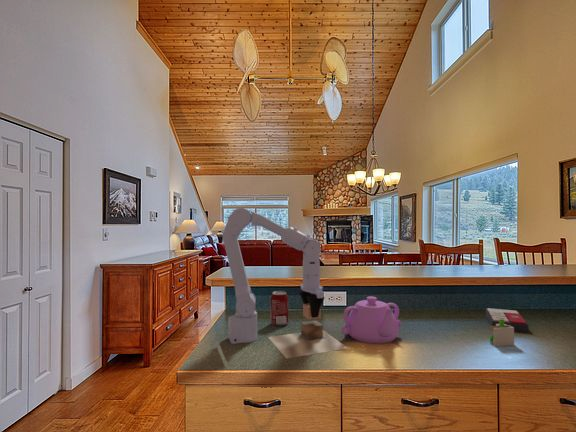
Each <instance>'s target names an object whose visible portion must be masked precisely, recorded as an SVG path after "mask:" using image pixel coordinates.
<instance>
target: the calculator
mask: <svg viewBox="0 0 576 432" xmlns="http://www.w3.org/2000/svg"><path fill="white" fill-rule="evenodd" d="M485 319H486V320H487V322H488V323H489V325H490V326H496V324H499V319H504V324H506V325H509V326H512V327H514V332H516V331H517V332H524V333H525V332H527V333H528V332H529V323H527V322H526V320H525V319H524V318H523V316H522V315H521V313H519V312H518V311H517V310H511V309H501V308H491V307H490V308H489V307H488V308H485Z"/></svg>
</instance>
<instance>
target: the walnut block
mask: <svg viewBox="0 0 576 432" xmlns="http://www.w3.org/2000/svg"><path fill="white" fill-rule="evenodd" d="M323 328H324V326H323V324H321V323H320V322H319V321H317V320H310V321H301V322H300V330H301V332H300V333H301V334H302V335H303V336H304V337H305V338H306V339H307V340H308V339H315V338H322V337H323V331H324V329H323Z"/></svg>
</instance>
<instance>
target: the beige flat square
mask: <svg viewBox="0 0 576 432" xmlns="http://www.w3.org/2000/svg"><path fill="white" fill-rule="evenodd" d="M267 338H268V339H269V340H270V341H271V342H272V344H273V345H274V346H275V347H276V349H277V350H278V351H279V352H280V354H282V356H283V357H284V358H285V359H286V360H287V359H292V358H298V357H304V356H309V355H310V356H312V355H317V354H322V353H328V352H329V353H330V352H333V351H340V350H346V349H348V347H347V346H345V344H343V343H341V342H340V341H339V340H337V339H336V338H334V337H333V336H332V335H330V334H329V333H328V332H327V331H325V330H323V337H322V338H315V339H308V340H307V339H306V338H305V337H304V336H303V335H302V334H301V332H294V333H288V334H282V335H274V336H268V337H267Z"/></svg>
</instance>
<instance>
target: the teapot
mask: <svg viewBox="0 0 576 432" xmlns="http://www.w3.org/2000/svg"><path fill="white" fill-rule="evenodd" d="M390 307H393V308H390ZM348 313H349V314H348ZM399 314H400V308H399V306H398V305H397V304H396V303H394V302H388V303H386V302H384V301H381V300H378V297H376V296H370V295H369V296H366V299H363V300H359V301H357V302H356V303H355V304H354V305H351V306H348V307H346V308H345V309H344V311H343V319H344V323H345V324H344V325H342V327H341V329H340V330H341V333H343V334H344V335H349V336H350V337H351V338H353V339H354V340H356V341H359V342H362V343H367V344H386V343H392V342H393V341H394V340H395V339H396V338H397V337H398V335H399V333H400V330H399V329H400V328H401V327H402V323H401V321H400V320H399Z"/></svg>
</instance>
